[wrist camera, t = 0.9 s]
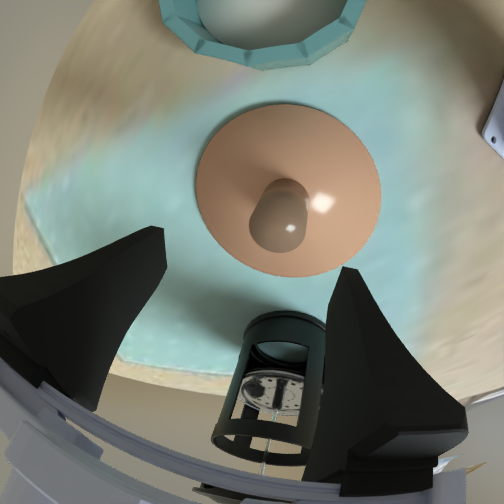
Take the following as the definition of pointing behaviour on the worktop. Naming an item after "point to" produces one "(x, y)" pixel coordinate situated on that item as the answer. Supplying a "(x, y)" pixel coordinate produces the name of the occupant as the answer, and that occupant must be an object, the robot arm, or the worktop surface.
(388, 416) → the robot arm
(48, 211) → the worktop surface
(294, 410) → the french press
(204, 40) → the bowl
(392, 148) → the worktop surface
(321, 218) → the lid
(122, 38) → the worktop surface
